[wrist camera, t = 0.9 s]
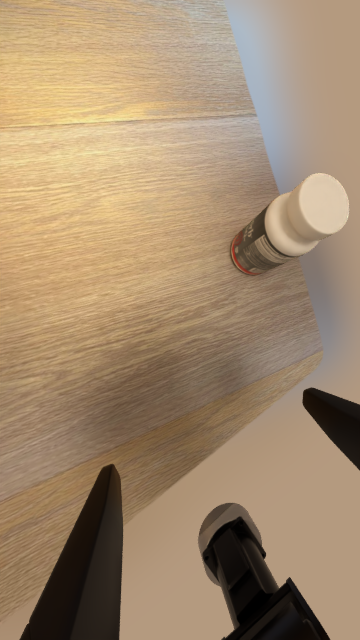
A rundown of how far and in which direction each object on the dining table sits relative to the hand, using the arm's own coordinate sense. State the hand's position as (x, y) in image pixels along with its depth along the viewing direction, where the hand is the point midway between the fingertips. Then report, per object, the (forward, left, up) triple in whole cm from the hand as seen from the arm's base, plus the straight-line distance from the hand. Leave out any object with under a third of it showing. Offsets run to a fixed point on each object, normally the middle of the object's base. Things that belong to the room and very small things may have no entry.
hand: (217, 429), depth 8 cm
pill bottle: (+6, -16, -13) cm, 22 cm away
